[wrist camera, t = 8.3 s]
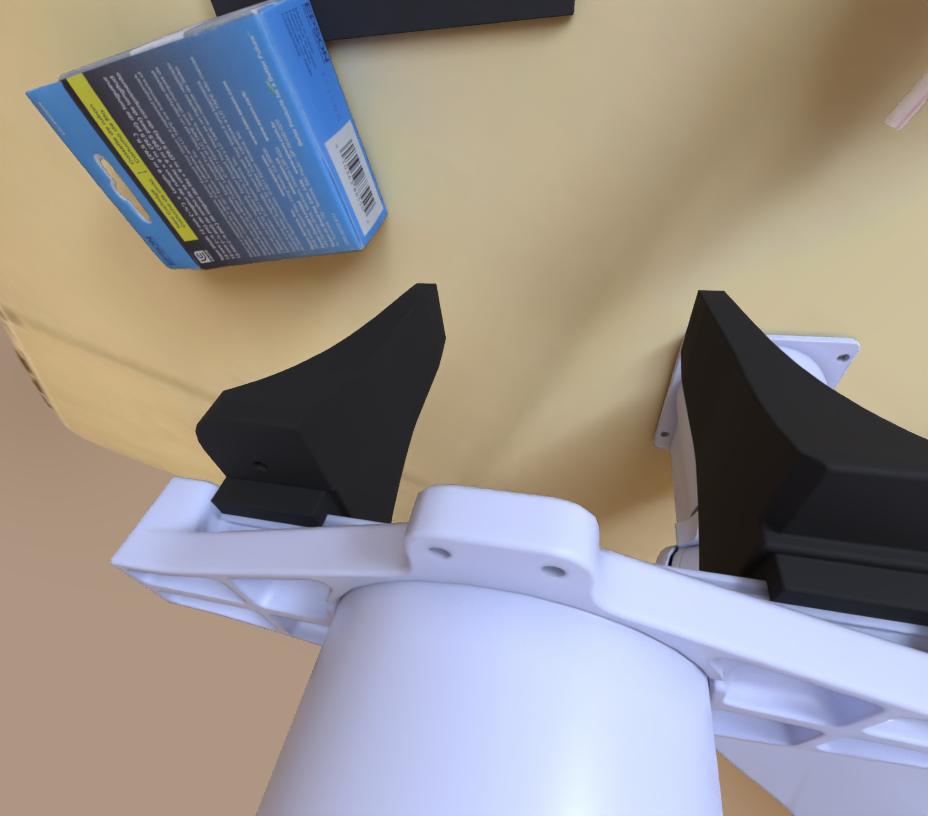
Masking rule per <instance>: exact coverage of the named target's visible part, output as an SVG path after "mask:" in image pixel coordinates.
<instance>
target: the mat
mask: <svg viewBox="0 0 928 816" xmlns="http://www.w3.org/2000/svg"><path fill="white" fill-rule="evenodd" d="M264 1H268V0H211V2H212V5H213V7H214V10H215V13H216V15H217V17H219V16H222V15H225V14H228V13H231V12H234V11H237V10H240V9H243V8H246V7H249V6H252V5H255V4H258V3H261V2H264ZM309 1H310V4H311V6H312V9H313V12H314V15H315V18H316V21H317V23H318V26H319V29H320V32H321V34H322V37H323V40H324V41H329V40H338V39H348V38H357V37H367V36H376V35H386V34H395V33H404V32H414V31H423V30H433V29H442V28H452V27H461V26H471V25H480V24H490V23H499V22H509V21H518V20H527V19H537V18H546V17H556V16H565V15H573V14H574V2H575V0H309Z"/></svg>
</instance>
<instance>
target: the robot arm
mask: <svg viewBox="0 0 928 816" xmlns="http://www.w3.org/2000/svg"><path fill="white" fill-rule="evenodd" d="M445 340H446V336H445V331H444V325H443V319H442V314H441V308H440V302H439V297H438V291H437V285H436V284H424V283H417V284H415V285H414V286H413V287H411V288H410V289H409V290H407V291H406V292H405V293H404V294H403V295H401V296H400V297H399V298H398V299H397V300H395V301H394V302H393V303H392V304H391V305H389V306H388V307H387V308H386V309H384V310H383V311H382V312H381V313H380V314H378V315H377V316H376V317H375V318H373V319H372V320H371V321H369V322H368V323H366V324H365V325H364V326H362V327H361V328H360V329H358V330H357V331H356V332H354V333H353V334H351V335H350V336H348V337H347V338H345V339H344V340H342V341H341V342H339V343H338V344H336V345H334V346H332V347H331V348H329V349H327V350H326V351H324V352H322V353H320V354H318V355H316V356H314V357H312V358H310V359H308V360H306V361H304V362H302V363H300V364H298V365H296V366H294V367H291V368H289V369H287V370H284V371H282V372H279V373H277V374H274V375H271V376H269V377H266V378H263V379H261V380H258V381H255V382H251V383H248V384H245V385H242V386H238V387H235V388H232V389H228V390H225V391H223V392H222V393H221V395H220V396H219V397H218V398H217V400H216V401H215V402H214V403H213V405H212V406H211V407H210V409H209V410H208V411H207V412H206V414H205V415H204V416H203V417H202V419H201V420H200V421H199V423H198V424H197V426H196V435H197V438H198V441H199V443H200V444H201V446H202V447H203V449H204V450H205V451H206V453H207V454H208V455H209V456H210V457H211V459H212V460H213V461H214V462H215V463H216V465H217V466H218V467H219V468H220V469H221V471H222V472H223V473H224V474H225V475H226V479H225V480H224V482H223V483H222V485H221V486H220V487H219V486H218V485H216V484H214V483H212V482H209V481H204V480H197V479H190V478H183V477H173V478H172V479H171V481H170V482H169V483H168V484H167V486H166V487H165V488H164V490H163V491H162V493H161V494H160V495H159V496H158V498H157V499H156V500H155V502H154V503H153V504H152V506H151V507H150V508H149V510H148V511H147V512H146V513H145V515H144V516H143V517H142V519H141V520H140V521H139V523H138V524H137V525H136V527H135V528H134V529H133V531H132V532H131V533H130V535H129V536H128V537H127V539H126V540H125V541H124V543H123V544H122V545H121V547H120V548H119V549H118V550H117V552H116V553H115V554H114V556H113V557H112V558H111V560H110V561H111V564H112V565H113V566H115V567H116V568H118V569H119V570H121V571H122V572H124V573H125V574H127V575H128V576H130V577H131V578H133V579H134V580H136V581H138V582H139V583H140V584H142V585H143V586H145V587H146V588H148V589H150V590H151V591H152V592H154V593H155V594H157V595H158V596H160V597H161V598H163V599H164V600H166V601H167V602H169V603H171V604H176V605H180V606H184V607H189V608H193V609H197V610H202V611H206V612H209V613H213V614H216V615H220V616H224V617H228V618H231V619H234V620H238V621H241V622H245V623H248V624H251V625H255V626H258V627H261V628H264V629H268V630H271V631H274V632H278V633H281V634H284V635H287V636H291V637H294V638H297V639H300V640H303V641H307V642H310V643H313V644H316V645H320V646H322V648H321V650H320V653H319V655H318V658H317V661H316V663H315V665H314V668H313V671H312V674H311V676H310V678H309V681H308V683H307V686H306V688H305V691H304V694H303V696H302V699H301V701H300V704H299V706H298V709H297V712H296V714H295V717H294V719H293V722H292V724H291V727H290V730H289V732H288V734H287V737H286V739H285V742H284V745H283V747H282V750H281V752H280V755H279V757H278V760H277V763H276V765H275V768H274V770H273V773H272V775H271V778H270V781H269V783H268V785H267V788H266V791H265V793H264V796H263V798H262V801H261V803H260V806H259V808H258V811H257V813H256V816H723V812H722V811H723V810H722V803H721V793H720V784H719V775H718V766H717V758H716V751H717V752H718V753H720V755H722V756H723V757H724V758H725V759H726V760H728V761H729V762H730V763H731V764H732V765H734V766H735V767H736V768H738V769H739V770H740V771H741V772H743V773H744V774H745V775H746V776H748V777H749V778H750V779H751V780H753V781H754V782H755V783H757V784H758V785H759V786H760V787H761V788H763V789H764V790H765V791H766V792H768V793H769V794H770V795H771V796H772V797H774V798H775V799H776V800H777V801H778V802H779V803H780V804H782V805H783V806H784V807H785V808H786V809H787V810H788V811H789V812H790V813H791V814H792V816H928V440H927V439H925V438H923V437H920V436H918V435H916V434H914V433H911V432H909V431H907V430H905V429H903V428H901V427H899V426H897V425H895V424H893V423H891V422H889V421H887V420H885V419H883V418H881V417H879V416H878V415H876V414H874V413H872V412H870V411H868V410H866V409H865V408H863V407H861V406H859V405H858V404H856V403H854V402H853V401H851V400H850V399H848V398H846V397H845V396H843V395H841V394H840V393H838V392H836V391H835V390H834V389H835V387H836V386H837V384H838V383H839V381H840V379H841V378H842V376H843V375H844V373H845V372H846V370H847V369H848V367H849V366H850V364H851V363H852V361H853V360H854V358H855V356H856V355H857V353H858V352H859V350H860V345H859V343H858V341H857V340H855V339H852V338H836V337H813V336H790V335H767V334H764V333H763V332H762V331H761V330H760V329H759V328H758V327H757V326H756V325H755V324H754V323H753V322H752V321H751V320H750V319H749V317H748V316H747V315H746V314H745V313H744V312H743V311H742V310H741V309H740V308H739V307H738V305H737V304H736V303H735V302H734V301H733V300H732V299H731V298H730V297H729V296H728V295H727V294H726V292H725V291H706V290H698V293H697V297H696V300H695V304H694V307H693V310H692V314H691V317H690V321H689V324H688V327H687V331H686V334H685V336H684V337H683V340H682V343H681V347H680V350H679V353H678V357H677V360H676V364H675V367H674V371H673V374H672V378H671V381H670V384H669V388H668V391H667V395H666V398H665V402H664V405H663V409H662V412H661V415H660V419H659V422H658V426H657V429H656V433H655V436H654V446H655V447H657V448H661V449H670V457H671V468H672V479H673V490H674V501H675V512H676V521H677V523H675V529H676V540H677V545H675V546H669V547H666V548H665V549H663V550H662V551H661V552H660V554H659V556H658V558H657V560H656V563H655V564H652V563H648V562H645V561H641V560H638V559H635V558H632V557H629V556H626V555H623V554H620V553H617V552H614V551H611V550H607V549H604V548H601V547H599V535H600V529H599V526H598V523H597V520H596V517H595V516H594V515H593V514H591V513H590V512H588V511H587V510H586V509H584V508H583V507H581V506H580V505H578V504H577V503H574V502H570V501H567V500H563V499H559V498H556V497H549V496H541V495H533V494H526V493H518V492H510V491H502V490H494V489H486V488H478V487H470V486H462V485H454V484H451V485H433V486H431V487H429V488H427V489H425V490H423V491H422V492H420V493H418V496H417V499H416V502H415V505H414V508H413V511H412V514H411V517H410V520H409V522H406V523H391V521H392V516H393V511H394V506H395V502H396V497H397V492H398V488H399V483H400V479H401V475H402V471H403V467H404V463H405V459H406V455H407V452H408V448H409V445H410V441H411V437H412V434H413V431H414V428H415V425H416V422H417V419H418V417H419V414H420V412H421V410H422V407H423V405H424V402H425V400H426V397H427V395H428V393H429V390H430V388H431V385H432V383H433V380H434V378H435V375H436V373H437V370H438V367H439V365H440V361H441V357H442V353H443V349H444V344H445ZM843 354H846V355H845V356H842V357H838V356H840V355H843Z"/></svg>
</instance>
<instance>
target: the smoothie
mask: <svg viewBox="0 0 928 816" xmlns="http://www.w3.org/2000/svg"><path fill="white" fill-rule="evenodd" d="M927 100H928V70H927V71H926V72H925V74H924V75H923V76H922V77H921V78H920V79H919V81H918V82H917V83H916V84H915V85H914V86H913V87H912V89H911V90H910V91H909V92H908V93H907V94H906V96H905V97H904V98H903V99H902V100H901V101H900V103H899V104H898V105H897V106H896V107H895V108H894V110H893V111H892V112H891V113H890V114H889V115H888V116H887V118H886V119H885V120H884V121H883V122H882V123H884V124H886V125H888V126H890V127H892V128H894V129H897V130H899V131H900V130H901V129H902V128H903V127H904V126H905V124H906V123H907V122H908V121H909V120H910V119H911V118H912V117H913V115H914V114H915V113H916V112H917V111H918V110H919V109H920V108H921V107H922V105H923V104H924V103H925V102H926V101H927Z"/></svg>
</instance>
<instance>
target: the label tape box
mask: <svg viewBox="0 0 928 816" xmlns="http://www.w3.org/2000/svg"><path fill="white" fill-rule="evenodd" d="M25 94H26V95H27V96H28V98H29V99H30V100H31V102H32V103H33V104H34V105H35V107H36V108H37V109H38V110H39V112H40V113H41V114H42V115H43V117H44V118H45V119H46V120H47V121H48V123H49V124H50V126H51V127H52V128H53V129H54V131H55V132H56V133H57V134H58V136H59V137H60V138H61V139H62V141H63V142H64V143H65V144H66V146H67V147H68V148H69V149H70V150H71V152H72V153H73V154H74V156H75V157H76V158H77V159H78V161H79V162H80V163H81V164H82V166H83V167H84V168H85V169H86V170H87V172H88V173H89V174H90V175H91V177H92V178H93V179H94V180H95V182H96V183H97V184H98V185H99V186H100V188H101V189H102V190H103V191H104V193H105V194H106V195H107V196H108V198H109V199H110V200H111V201H112V202H113V204H114V205H115V206H116V207H117V208H118V210H119V211H120V212H121V213H122V214H123V216H124V217H125V218H126V219H127V221H128V222H129V223H130V224H131V226H132V227H133V228H134V229H135V230H136V232H137V233H138V234H139V235H140V236H141V238H142V239H143V240H144V241H145V243H146V244H147V245H148V246H149V247H150V249H151V250H152V251H153V252H154V253H155V254H156V255H157V257H158V258H159V259H160V260H161V261H162V262H163V263H164V264H165V265H166V266H167V267H168V268H170V269H192V270H202V269H204V270H209V269H216V268H221V267H228V266H235V265H243V264H251V263H260V262H268V261H278V260H286V259H296V258H304V257H312V256H321V255H328V254H337V253H345V252H353V251H360V250H363V249H364V247H365V246H366V245H367V244H368V242H369V241H370V239H371V238H372V237H373V236H374V234H375V233H376V232H377V230H378V228H379V227H380V225H381V224H382V222H383V220H384V219H385V217H386V215H387V214H388V213H387V209H386V207H385V205H384V202H383V199H382V197H381V194H380V191H379V188H378V186H377V183H376V180H375V177H374V175H373V172H372V170H371V167H370V164H369V161H368V159H367V156H366V153H365V151H364V148H363V145H362V143H361V140H360V137H359V135H358V132H357V129H356V126H355V124H354V121H353V119H352V116H351V113H350V111H349V108H348V105H347V102H346V100H345V97H344V94H343V91H342V89H341V86H340V84H339V81H338V78H337V75H336V73H335V70H334V67H333V64H332V62H331V59H330V56H329V53H328V51H327V48H326V45H325V42H324V40H323V37H322V34H321V32H320V29H319V26H318V23H317V21H316V18H315V15H314V12H313V9H312V6H311V4H310V1H309V0H268V1H264V2H261V3H258V4H255V5H252V6H249V7H246V8H243V9H240V10H237V11H234V12H231V13H228V14H225V15H222V16H219V17H216V18H213V19H210V20H207V21H204V22H201V23H198V24H196V25H193V26H190V27H188V28H185V29H182V30H180V31H177V32H174V33H172V34H169V35H166V36H164V37H161V38H159V39H156V40H154V41H151V42H149V43H146V44H144V45H141V46H139V47H136V48H133V49H131V50H128V51H125V52H122V53H119V54H117V55H114V56H111V57H108V58H106V59H103V60H100V61H97V62H94V63H92V64H89V65H86V66H83V67H81V68H78V69H75V70H72V71H70V72H67V73H64V74H62V75H61V76H60V78H59V81H58V82H55V83H52V84H48V85H46V86H41V87H37V88H34V89H32V90H29V91H27V92H26V93H25ZM101 159H104V160H106V161H107V162H108V163H109V164H110V165H111V166H112V167H113V169H114V170H115V171H116V173H117V174H118V175H119V177H120V178H121V179H122V180H123V182H124V183H125V184H126V186H127V187H128V188H129V190H130V191H131V192H132V193H133V195H134V196H135V197H136V199H137V200H138V201H139V202H140V204H141V205H142V206H143V208H144V209H145V210H146V211H147V213H148V214H149V216H150V218H151V220H150V221H148V220H147V219H145V218H144V217H143V216H142V215H141V213H140V212H139V211H138V210H137V208H136V207H135V206H134V205H133V203H132V202H131V201H130V200H128V199H126V198H125V197H123V196H122V195H121V194H120V193H119V192H118V190H117V188H116V182H115V181H114V180H113V179H112V177H111V176H110V175H109V173H108V172H107V171H106V170H105V168H104V167H103V165H102V163H101Z"/></svg>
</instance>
